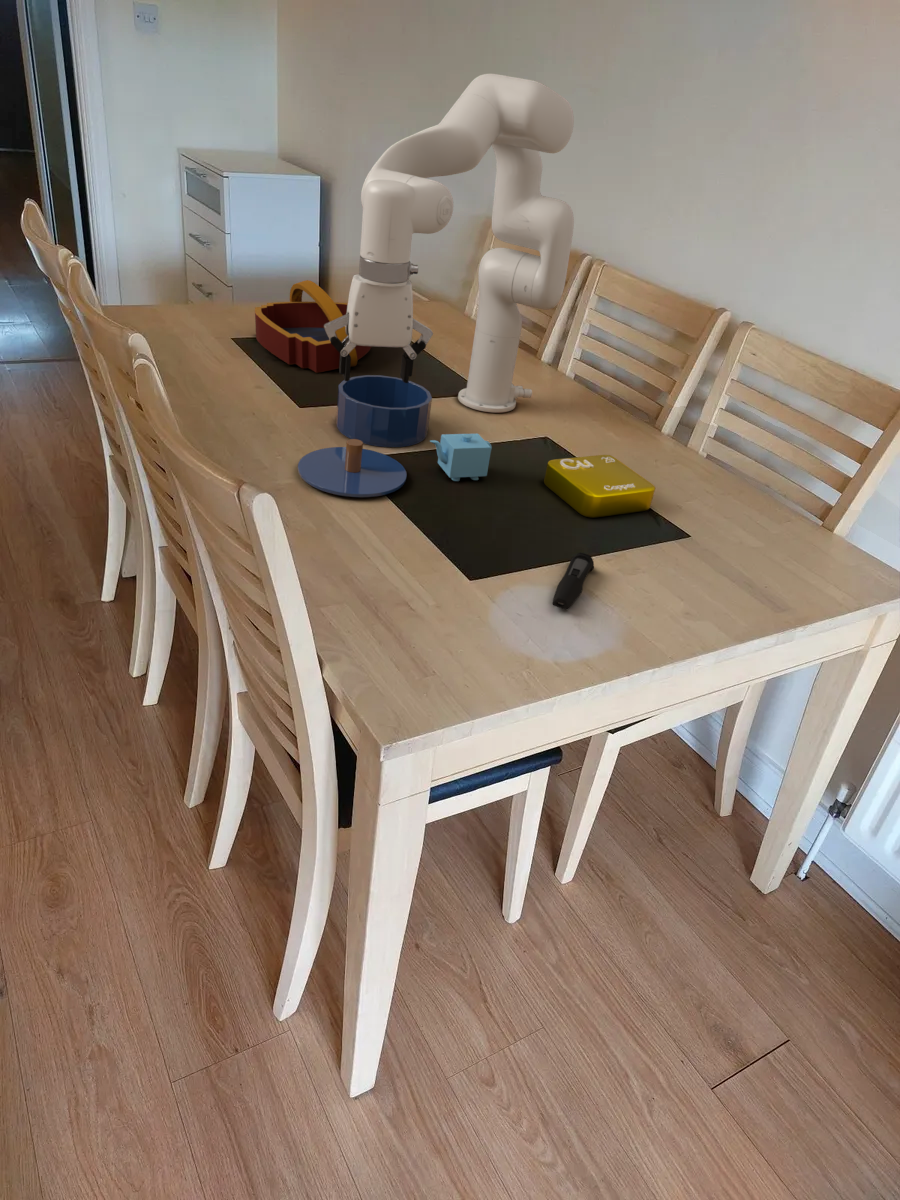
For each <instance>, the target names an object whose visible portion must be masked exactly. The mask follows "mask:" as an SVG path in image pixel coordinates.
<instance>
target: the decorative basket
mask: <svg viewBox="0 0 900 1200" xmlns="http://www.w3.org/2000/svg"><path fill="white" fill-rule="evenodd" d="M304 292H305V294H307V295H308V296H309V297H310V298H311V299H312V300H313V301H303V293H304ZM347 306H348V302H336V301H334V300H333V299H332V298H331V296H330V295H329V294H328V293H327V292H326V291H325V290H324V289H323V288H322V287H320V286H319V285H318V284H317V283H316V282H314V281H312V280H309V279H306V280H302V281H300V282H296V283H293V285H291V287H290V291H289V301H278V302H266V304H261V306H255V307H254V320H255V321H254V322H255V339H256V341H257V342H258V343H259V344H260V345H261V346H262V347H263V348H264V349H265V350H266V351H268V352H269V353H271V354H272V355H273V356H275V357H276V358H278V359H279V360H281V361H283V362H284V363H286V364H287V365H289V366H291V365H297V366H298V367H300V368H301V369H309V370H311V371H313V372H314V373H316V374H318V373H323V372H329V371H333V370H338V369H339V364H340V353H339V352H338V351H337V350H336V348H335V347H334V346H333V345H332V344H331V342H330V340H329V338H328V335H327V333H326V331H325V329H324V325H325V324H326V323H328V322H330V321H333V320H335V319H337V318H339V317H341V316H344V315H346V314H347ZM335 334H336V336H337V338H338V339H339V340H340V341H341V342H342V341H343V340H344V339H345V338H346V337H347V336H348V335H347V334H346V330H345V326H344V327H342V328H340V329H338V330H336V331H335ZM371 348H373V346H359V345H356V347H355V348H354V349H353V350H352V351H351V352H350V353H349V355H350V357H351V367H350V368H352V367H357V364H358V360H360V359H361V358H363V357H364V356H365V355H367V354H368V353H369V352H370V350H371Z"/></svg>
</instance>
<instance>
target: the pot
mask: <svg viewBox="0 0 900 1200" xmlns="http://www.w3.org/2000/svg"><path fill="white" fill-rule="evenodd" d="M432 401H433V397H432V394H431V392H430V391H429V390H428V389H427V388H425V387H424V386H423V385H421V384H419V383H417V382H413V381H412V380H408V383H404V382H403V380H402V379H401V377H396V376H387V375H382V374H381V375H380V374H378V375H376V374H373V375H372V374H367V375H358V376H352V377H351V376H350V380H348V381H345V380H344V379H343V380H342V381H341V382H340V383H339V384H338V387H337V403H336V416H335V417H336V418H335V420H336V421H335V422H336V423H335V425H336V429H337V430H338V432H340V433H341V434H342V435H343V436H345V438H348V439H358V440H361V441H362V442H363V445H369V446H373V447H379V448H380V447H381V448H402V447H410V446H413V445H417V444H420V443H421V442H423V441H425V439H426V437H427V435H428V433H429V427H430V418H431V417H430V416H431V410H432V403H433V402H432Z"/></svg>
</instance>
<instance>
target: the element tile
mask: <svg viewBox="0 0 900 1200" xmlns="http://www.w3.org/2000/svg"><path fill="white" fill-rule="evenodd" d="M543 483H544V486H546V487H547V488H548V489H549V490H550V491H552V493H554V494H555V495H556V496H558V497H559V498H560V499H561V500H562V501H564V502H565V503H566V504H567V505H568V506H570V507H571V508H572V509H573V510H575V512H577V513H578V514H580V516H583V517H585V518H589V519H590V518H592V519H596V518H604V517H613V516H617V515H618V516H619V515H626V514H633V513H641V512H646V511H648V510H650V508H651V505H652V502H653V498H654V495H655V492H656V486H655V485H654V484H653V483H652V482H650V481H649V480H647V478H644V477H643V476H641V475H640V474H639V473H638V472H636V471H635V470H633V469H632V468H630V467H629V466H628V465H626V464H625V463H623V462H622V461H621V460H619V459H618V458H616V457H615V456H613V455H610V454H597V455H586V456H577V457H576V456H575V457H565V458H556V459H551V460H548V462H547V465H546V469H545V474H544V479H543Z"/></svg>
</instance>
